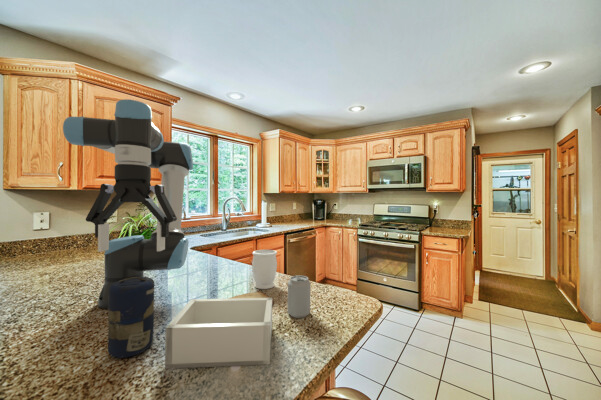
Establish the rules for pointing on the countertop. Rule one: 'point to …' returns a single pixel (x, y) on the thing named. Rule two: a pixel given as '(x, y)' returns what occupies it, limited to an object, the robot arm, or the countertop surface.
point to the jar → (264, 268)
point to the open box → (220, 333)
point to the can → (299, 296)
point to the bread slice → (252, 296)
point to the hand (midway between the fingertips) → (132, 250)
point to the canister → (130, 316)
